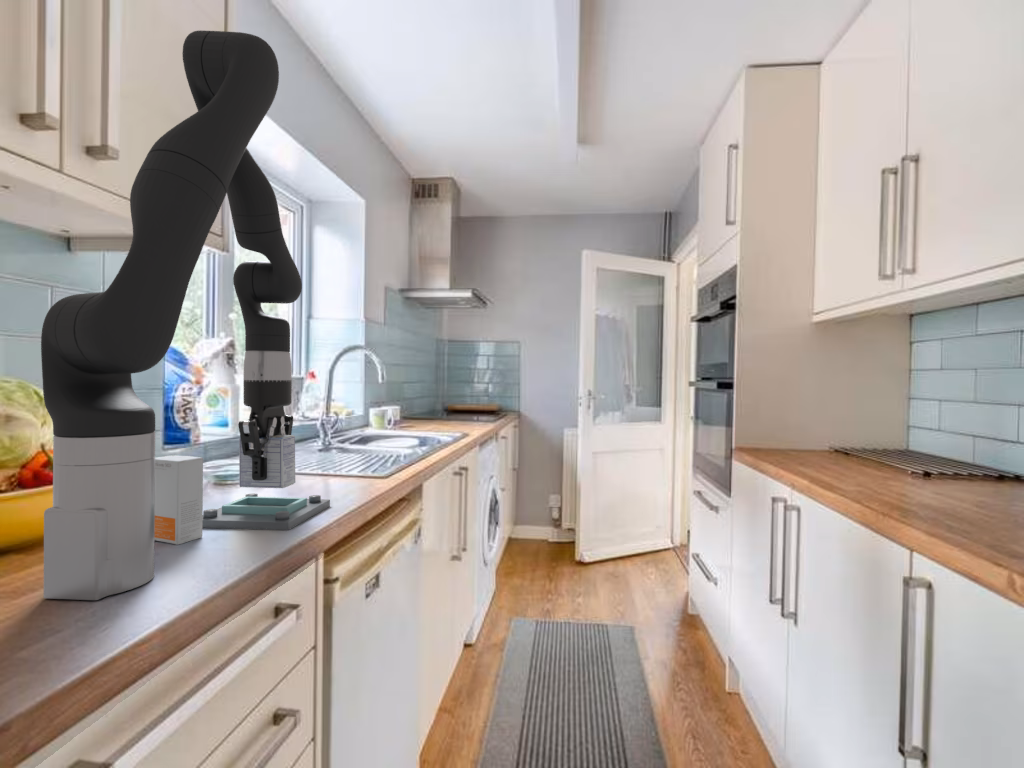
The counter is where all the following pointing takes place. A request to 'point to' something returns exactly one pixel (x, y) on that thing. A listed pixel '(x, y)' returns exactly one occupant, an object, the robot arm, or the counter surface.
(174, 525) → the skincare box
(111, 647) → the counter surface
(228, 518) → the baseplate
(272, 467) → the medicine box
